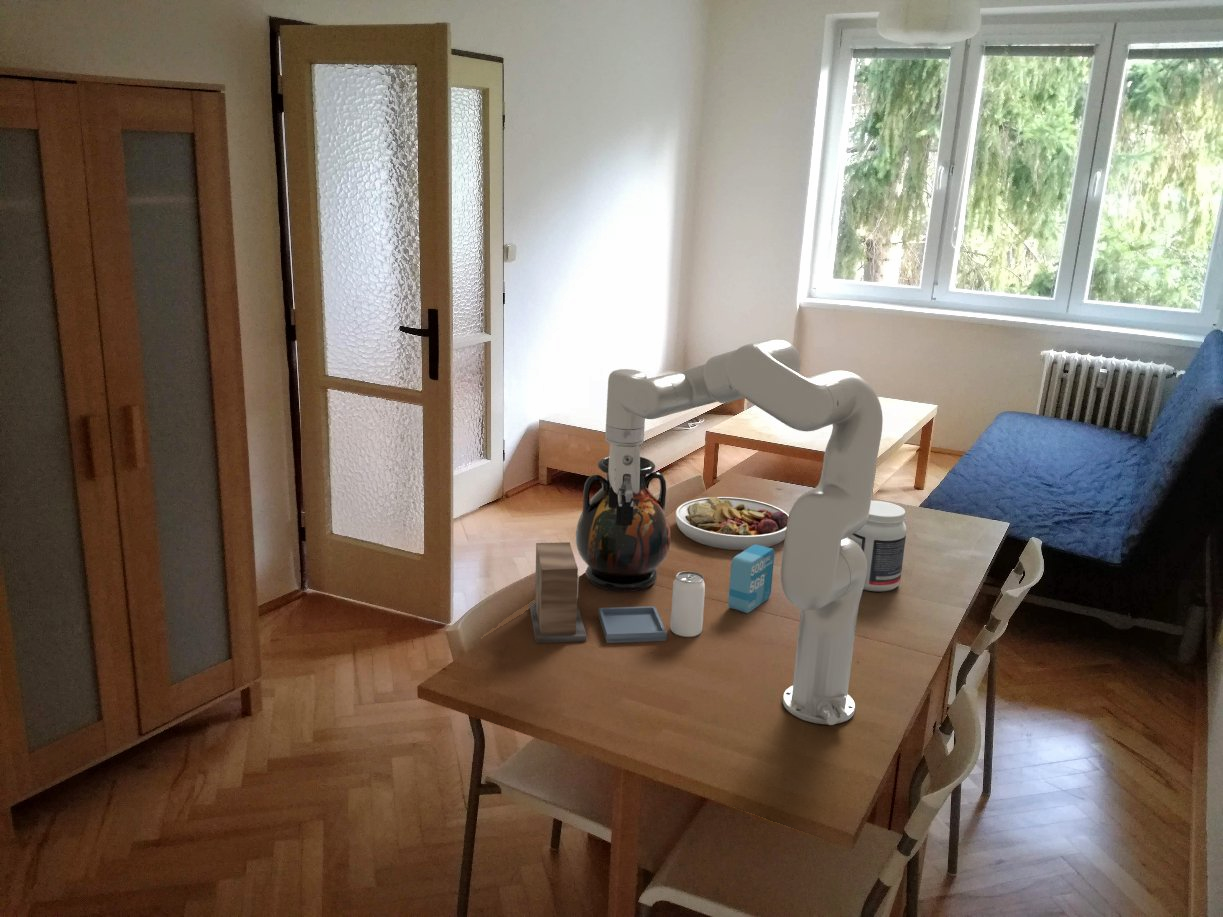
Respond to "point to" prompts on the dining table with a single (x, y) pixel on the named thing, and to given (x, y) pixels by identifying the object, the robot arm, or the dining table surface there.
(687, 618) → the can
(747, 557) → the data package
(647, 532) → the amphora vase
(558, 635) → the block
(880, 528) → the supplement tub
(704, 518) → the bowl
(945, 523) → the dining table surface
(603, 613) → the tray
